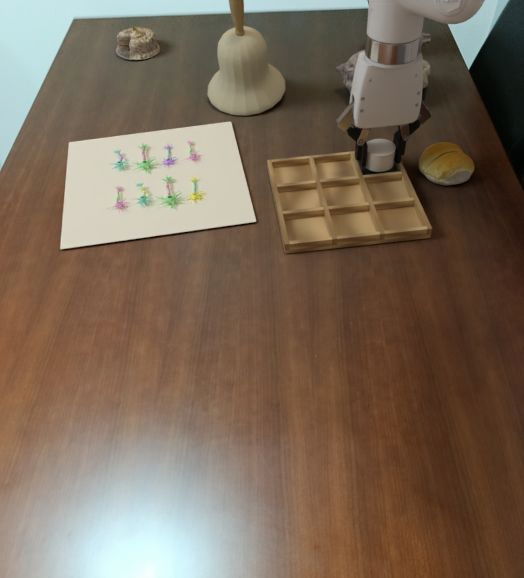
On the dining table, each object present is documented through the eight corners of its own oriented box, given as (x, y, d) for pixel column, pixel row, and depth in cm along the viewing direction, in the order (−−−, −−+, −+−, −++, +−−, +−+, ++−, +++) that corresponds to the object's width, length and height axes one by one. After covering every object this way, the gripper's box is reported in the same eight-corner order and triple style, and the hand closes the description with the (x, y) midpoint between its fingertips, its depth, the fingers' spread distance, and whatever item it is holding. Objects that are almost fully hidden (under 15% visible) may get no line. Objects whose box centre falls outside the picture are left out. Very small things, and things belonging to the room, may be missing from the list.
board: (393, 156, 100) (394, 146, 98) (430, 238, 86) (432, 228, 85) (267, 169, 99) (267, 159, 97) (284, 253, 85) (284, 244, 84)
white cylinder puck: (389, 153, 97) (391, 136, 95) (397, 170, 94) (399, 153, 92) (360, 156, 97) (361, 140, 95) (366, 173, 94) (368, 157, 92)
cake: (144, 39, 134) (141, 14, 130) (170, 53, 130) (167, 27, 126) (106, 50, 130) (102, 24, 126) (132, 65, 125) (128, 38, 121)
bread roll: (452, 151, 100) (457, 130, 97) (479, 180, 94) (485, 158, 91) (407, 161, 98) (411, 140, 95) (432, 191, 93) (437, 169, 90)
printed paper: (256, 223, 90) (256, 215, 89) (60, 251, 88) (57, 243, 87) (231, 123, 109) (230, 115, 108) (69, 143, 107) (67, 136, 105)
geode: (427, 125, 115) (384, 81, 121) (455, 80, 108) (409, 36, 114) (366, 121, 105) (324, 74, 112) (393, 72, 99) (346, 25, 105)
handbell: (291, 72, 117) (286, -64, 95) (280, 124, 110) (271, -10, 88) (217, 69, 119) (195, -65, 98) (201, 120, 112) (174, -11, 91)
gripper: (443, 29, 84) (423, 143, 98) (327, 40, 83) (323, 153, 98) (460, 52, 79) (436, 168, 93) (337, 64, 79) (331, 179, 93)
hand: (378, 159), depth 95 cm, fingers closed on white cylinder puck, 5 cm apart
